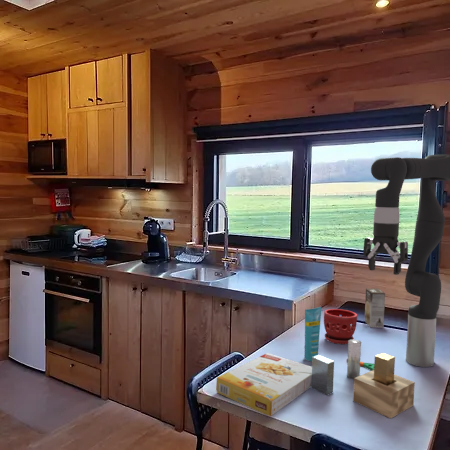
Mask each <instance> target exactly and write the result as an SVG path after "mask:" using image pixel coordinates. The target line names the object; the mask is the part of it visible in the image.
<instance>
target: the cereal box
mask: <svg viewBox="0 0 450 450" xmlns="http://www.w3.org/2000/svg"><path fill="white" fill-rule="evenodd" d="M215 384H216V385H215V389H216V390H215V391H216V393H217V394H219V395H222V396H223V397H226V398H228V399H230V400H232V401H234V402H237V403H239V404H241V405H243V406H246V407H247V408H250V409H252V410H254V411H257V412H259V413H260V414H261V413H262V414H264V415H266V416H269V417H272V416H273V415H275V414H276V413H277V412H279V411H280V410H281V409H283V408H284V407H285V406H287V405H288V404H290V403H291V402H292V401H294V400H296V399H297V397H299V396H300V395H302V394H303V393H305V392H306V391H308V390H309V389H310V388H311V384H312V365H311V366H310V365H308V364H304V363H301V362H297V361H294V360H292V359H287V358H284V357H281V356H279V355H275V354H272V353H270V352H266V353H264V354H262V355H260V356H257V357H256V358H254V359H252V360H250V361H248V362H246V363H244V364H241V365H239V366H238V367H235V368H233V369H231V370H230V371H228V372H227V371H226V372H225V373H223V374H222V375H219V376H218V377H216V383H215Z"/></svg>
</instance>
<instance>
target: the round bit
mask: <svg viewBox="0 0 450 450" xmlns="http://www.w3.org/2000/svg"><path fill="white" fill-rule="evenodd" d="M361 346H362V342H361V340H358V339H354V340H349V341H348V344H347V358H348V362H347V367H346V368H347V369H346V377H347V378H349V379H350V380H354V378H356V377H358V376H360V375H361V373H360V372H361V366H360V362H361V356H362V355H361V352H362V347H361Z"/></svg>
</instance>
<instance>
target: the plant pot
mask: <svg viewBox="0 0 450 450" xmlns="http://www.w3.org/2000/svg"><path fill="white" fill-rule="evenodd" d="M357 322H358V314H357V313H356V312H353V311H351V310H347V309H339V308H329V309H326V310H324V313H323V325H324V329H325V334H324V338H325V339H326V340H327V342H330V343H332V344H334V345H348V341H349V340H355V338H354V337H353V335H354V334H355V332H356V330H357V329H356V327H357Z"/></svg>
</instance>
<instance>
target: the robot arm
mask: <svg viewBox="0 0 450 450" xmlns="http://www.w3.org/2000/svg"><path fill="white" fill-rule="evenodd" d="M370 173H371V176H373V178H374V179H375V180H377V181H388V183H387V185H386V186H385V187H382V188H381V187H380V188H378V189H377V190H376V191H375V205H374V206H375V207H374V214H373V228H372V229H373V231H372V234H373V238H372V237H365V238H364V243H363V252H362V256H364V257H366V258H367V259H368V264H367V266H368V269H369V271H376V257H377V256H378V254H386V255H389V256H390V258H392V260H393V261H394V263H393V275H400V274H401V272H402V263H403V262H409V263H408V265H407V270H406V274H405V279H404V288H405V290H406V292H407V293H408V294H410V295H413V296H416V297H419V303H418V304H412V305H409V307H408V312H407V332H406V351H405V361H406V362H407V363H408V364H411V365H413V366H415V367H421V368H428V367H433V366H434V362H435V351H436V332H437V331H436V329H437V314H438V312H439V309H440V303H441V296H442V294H441V293H442V280H441V278H440V277H439V275H437V274H436V273H432V272H428V271H426V266H427V261H428V259H429V257H430V255H431V253H432V252H433V251H434V250H435V248H436V247H437V246H438V244H439V243H440V242H441V240H442V239H443V236H444V230H445V222H446V217H445V213H444V210H443V209H442V206H441V205H440V203H439V201H438V198H437V196H436V182H437V181H439V182H441V181H443V182H446V181H447V182H448V181H450V154H445V153H444V154H430V155H426V157H424V158H423V157H421V158H419V157H396V156H395V157H382V158H378V159H375V160H374V162H372V164H371V166H370ZM418 179H420V190H419V191H420V193H419V202H418V209H417V210H418V211H417V214H416V215H417V216H416V221H415V228H414V237H413V242H412V248H411V254H410V257H409V243H408V241H399V239H398V238H399V232H400V230H399V228H400V194H401V191H402V188H403V185H404V182H405V181H406V180H418ZM372 244H373V246H374V247H372ZM397 248H399V251H398V249H397ZM408 260H409V261H408Z"/></svg>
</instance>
